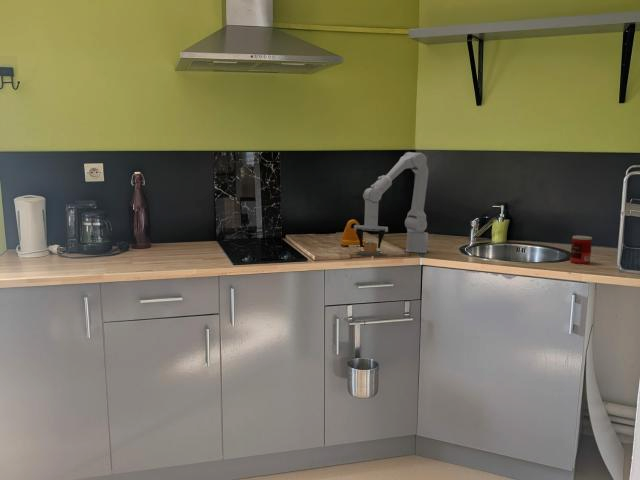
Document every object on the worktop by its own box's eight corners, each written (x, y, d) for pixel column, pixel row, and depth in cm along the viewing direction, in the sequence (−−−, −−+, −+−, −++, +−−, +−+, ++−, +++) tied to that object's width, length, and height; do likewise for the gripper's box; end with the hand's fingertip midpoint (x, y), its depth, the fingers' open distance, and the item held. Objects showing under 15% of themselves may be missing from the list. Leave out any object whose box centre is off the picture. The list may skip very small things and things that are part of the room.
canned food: (589, 262, 260) (592, 236, 258) (589, 265, 252) (592, 238, 251) (570, 260, 263) (572, 234, 261) (569, 263, 255) (571, 237, 254)
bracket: (342, 247, 284) (343, 221, 282) (340, 244, 291) (341, 219, 289) (365, 247, 285) (366, 221, 283) (363, 244, 292) (364, 219, 290)
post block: (381, 252, 271) (382, 241, 270) (378, 256, 262) (379, 244, 261) (361, 251, 273) (361, 240, 272) (357, 254, 264) (358, 243, 263)
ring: (376, 250, 269) (377, 243, 269) (375, 252, 264) (375, 244, 264) (365, 250, 271) (365, 242, 270) (363, 252, 266) (363, 244, 265)
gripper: (353, 216, 263) (352, 247, 265) (386, 218, 259) (385, 249, 262) (356, 214, 270) (355, 245, 272) (389, 216, 266) (387, 247, 268)
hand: (370, 247), depth 267 cm, fingers open, 7 cm apart
